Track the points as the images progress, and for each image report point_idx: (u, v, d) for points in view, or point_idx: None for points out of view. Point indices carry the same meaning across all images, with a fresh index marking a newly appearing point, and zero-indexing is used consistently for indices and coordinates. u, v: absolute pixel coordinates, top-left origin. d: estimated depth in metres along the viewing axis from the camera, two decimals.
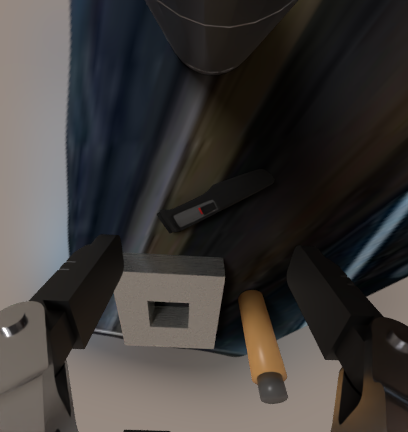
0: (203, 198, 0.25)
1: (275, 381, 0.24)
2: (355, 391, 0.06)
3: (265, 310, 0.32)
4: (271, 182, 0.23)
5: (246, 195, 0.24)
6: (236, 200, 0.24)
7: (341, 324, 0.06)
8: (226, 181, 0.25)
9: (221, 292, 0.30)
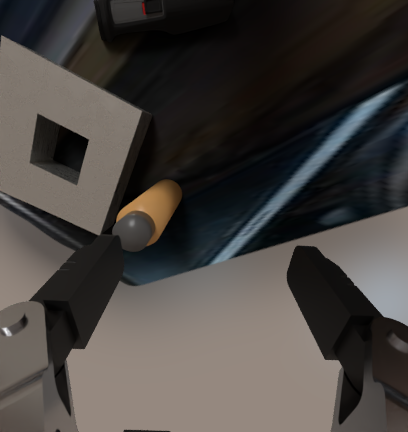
0: None
1: (141, 217, 0.18)
2: (355, 391, 0.06)
3: (175, 194, 0.27)
4: (230, 1, 0.20)
5: (199, 7, 0.21)
6: (187, 10, 0.21)
7: (341, 324, 0.06)
8: None
9: (131, 136, 0.24)
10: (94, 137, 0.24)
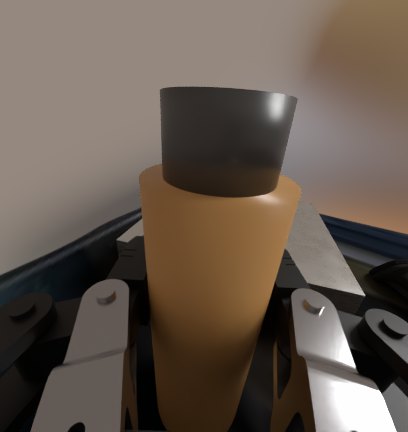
0: None
1: None
2: (287, 360, 0.06)
3: (233, 398, 0.08)
4: None
5: None
6: None
7: (273, 296, 0.07)
8: None
9: (311, 281, 0.14)
10: None
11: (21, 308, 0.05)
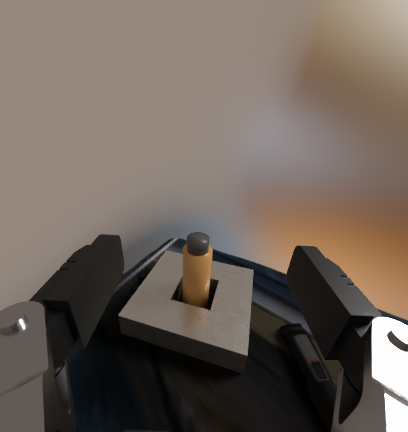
0: None
1: (208, 246, 0.29)
2: (355, 391, 0.06)
3: (203, 300, 0.32)
4: None
5: None
6: (333, 406, 0.22)
7: (341, 324, 0.06)
8: None
9: (222, 346, 0.25)
10: (213, 314, 0.29)
11: None
